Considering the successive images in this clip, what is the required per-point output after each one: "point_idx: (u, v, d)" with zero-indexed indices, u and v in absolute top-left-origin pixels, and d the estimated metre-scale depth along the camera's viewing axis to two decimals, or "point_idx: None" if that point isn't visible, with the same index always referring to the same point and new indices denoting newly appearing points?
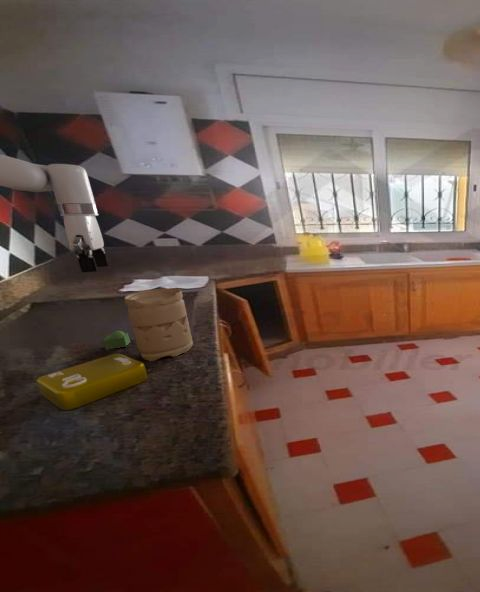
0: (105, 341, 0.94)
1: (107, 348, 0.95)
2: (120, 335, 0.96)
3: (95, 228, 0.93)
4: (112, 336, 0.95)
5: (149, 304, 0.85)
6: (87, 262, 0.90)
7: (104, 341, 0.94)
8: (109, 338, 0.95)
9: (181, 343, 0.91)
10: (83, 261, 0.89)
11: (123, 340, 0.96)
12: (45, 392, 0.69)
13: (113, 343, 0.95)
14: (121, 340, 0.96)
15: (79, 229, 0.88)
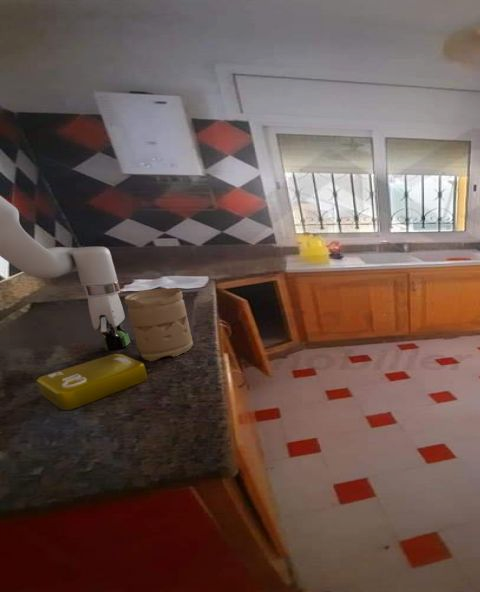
0: (105, 341, 0.94)
1: (107, 348, 0.95)
2: (120, 335, 0.96)
3: (117, 304, 0.95)
4: None
5: (149, 304, 0.85)
6: (113, 341, 0.94)
7: (104, 341, 0.94)
8: None
9: (181, 343, 0.91)
10: (110, 341, 0.94)
11: (123, 340, 0.96)
12: (45, 392, 0.69)
13: None
14: (121, 340, 0.96)
15: (102, 309, 0.90)
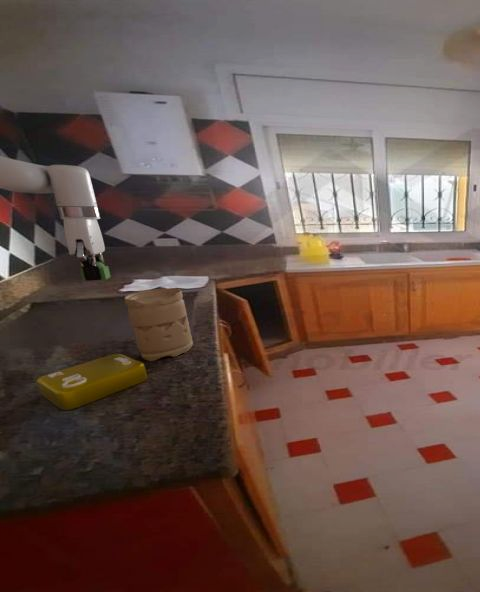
0: (82, 270, 0.88)
1: None
2: (99, 266, 0.90)
3: (96, 232, 0.89)
4: None
5: (149, 304, 0.85)
6: (91, 270, 0.88)
7: (81, 270, 0.88)
8: None
9: (181, 343, 0.91)
10: (87, 270, 0.88)
11: (102, 271, 0.90)
12: (45, 392, 0.69)
13: None
14: (100, 271, 0.90)
15: (79, 233, 0.84)
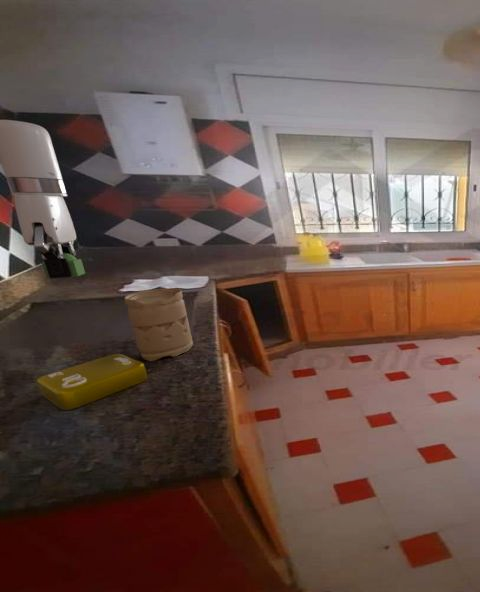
0: (45, 265, 0.67)
1: None
2: (68, 258, 0.69)
3: (62, 214, 0.67)
4: None
5: (149, 304, 0.85)
6: (57, 264, 0.67)
7: (44, 264, 0.66)
8: None
9: (181, 343, 0.91)
10: (51, 264, 0.66)
11: (72, 265, 0.69)
12: (45, 392, 0.69)
13: None
14: (69, 265, 0.68)
15: (37, 214, 0.62)
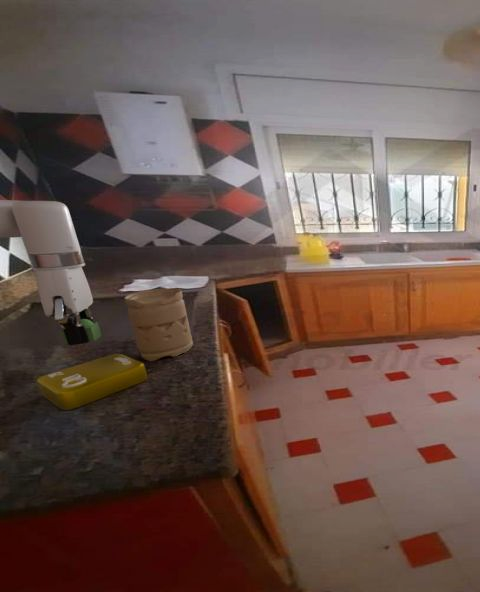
0: None
1: (67, 342, 0.69)
2: (86, 325, 0.71)
3: (80, 283, 0.69)
4: None
5: (149, 304, 0.85)
6: (75, 332, 0.69)
7: (63, 333, 0.69)
8: None
9: (181, 343, 0.91)
10: (70, 332, 0.68)
11: (90, 331, 0.71)
12: (45, 392, 0.69)
13: None
14: (87, 331, 0.71)
15: (57, 288, 0.65)
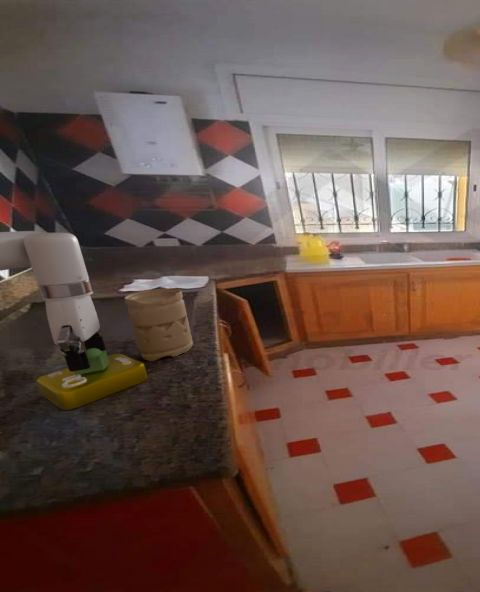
0: None
1: (77, 372, 0.71)
2: (95, 354, 0.73)
3: (88, 310, 0.71)
4: None
5: (149, 304, 0.85)
6: (76, 358, 0.68)
7: None
8: None
9: (181, 343, 0.91)
10: (71, 359, 0.68)
11: (99, 361, 0.73)
12: (45, 392, 0.69)
13: None
14: (96, 361, 0.73)
15: (66, 318, 0.66)
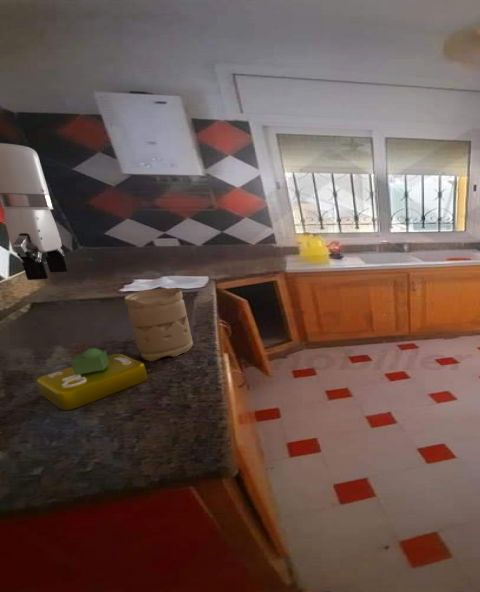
0: (74, 362, 0.71)
1: (77, 372, 0.71)
2: (95, 354, 0.73)
3: (48, 225, 0.75)
4: (84, 355, 0.72)
5: (149, 304, 0.85)
6: (34, 267, 0.72)
7: (73, 362, 0.71)
8: (80, 358, 0.72)
9: (181, 343, 0.91)
10: (29, 267, 0.71)
11: (99, 361, 0.73)
12: (45, 392, 0.69)
13: (85, 364, 0.72)
14: (96, 361, 0.73)
15: (24, 226, 0.70)
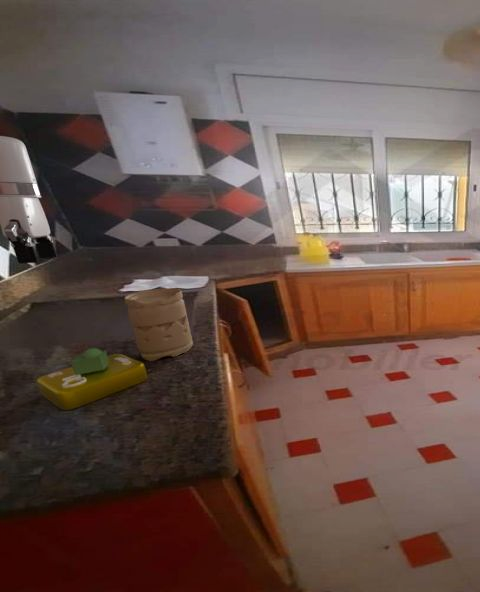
0: (74, 362, 0.71)
1: (77, 372, 0.71)
2: (95, 354, 0.73)
3: (37, 212, 0.80)
4: (84, 355, 0.72)
5: (149, 304, 0.85)
6: (24, 251, 0.77)
7: (73, 363, 0.71)
8: (80, 358, 0.72)
9: (181, 343, 0.91)
10: (19, 251, 0.76)
11: (99, 361, 0.73)
12: (45, 392, 0.69)
13: (85, 364, 0.72)
14: (96, 361, 0.73)
15: (14, 212, 0.75)
